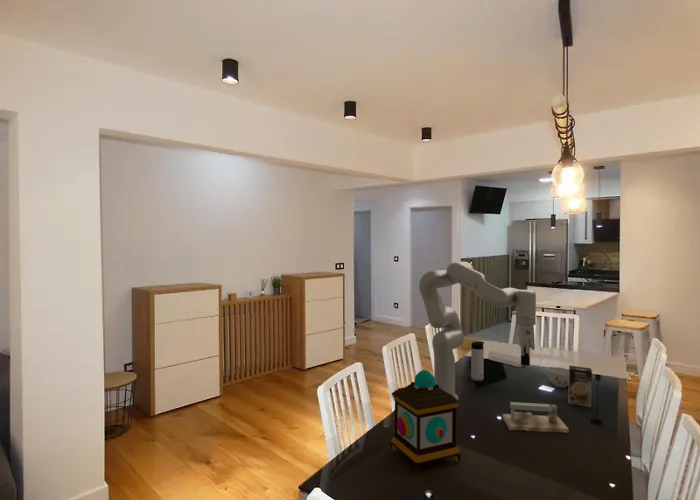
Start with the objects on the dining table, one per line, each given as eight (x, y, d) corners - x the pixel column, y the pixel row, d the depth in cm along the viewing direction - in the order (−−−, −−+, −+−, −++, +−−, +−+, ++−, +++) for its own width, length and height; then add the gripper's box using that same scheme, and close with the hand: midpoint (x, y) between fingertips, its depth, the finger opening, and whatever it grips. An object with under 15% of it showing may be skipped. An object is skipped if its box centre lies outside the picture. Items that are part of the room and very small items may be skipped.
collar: (515, 423, 176) (515, 413, 176) (511, 416, 182) (511, 407, 182) (531, 424, 175) (531, 414, 175) (527, 417, 181) (527, 407, 181)
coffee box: (568, 404, 200) (568, 369, 199) (568, 399, 205) (568, 365, 205) (591, 407, 196) (592, 371, 195) (590, 402, 202) (591, 367, 201)
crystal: (530, 359, 260) (495, 351, 279) (524, 355, 256) (489, 346, 275) (526, 371, 258) (491, 362, 277) (520, 367, 254) (485, 358, 273)
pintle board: (509, 429, 173) (509, 415, 173) (502, 417, 185) (502, 403, 185) (568, 432, 171) (568, 417, 171) (557, 419, 183) (558, 406, 182)
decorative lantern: (414, 477, 139) (415, 382, 139) (385, 449, 158) (385, 365, 157) (466, 464, 147) (467, 374, 147) (432, 439, 166) (432, 359, 165)
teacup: (572, 391, 216) (573, 375, 216) (545, 387, 222) (545, 371, 222) (574, 382, 229) (574, 367, 229) (548, 379, 235) (548, 364, 235)
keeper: (558, 412, 175) (558, 407, 175) (511, 409, 178) (511, 404, 178) (555, 409, 178) (555, 404, 178) (510, 406, 181) (510, 401, 181)
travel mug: (484, 381, 231) (484, 343, 231) (471, 380, 233) (471, 342, 232) (483, 377, 237) (483, 340, 237) (470, 377, 239) (470, 340, 238)
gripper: (539, 324, 173) (538, 370, 173) (531, 317, 187) (531, 360, 188) (519, 323, 174) (518, 369, 175) (513, 316, 189) (512, 359, 189)
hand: (525, 364), depth 181 cm, fingers closed
